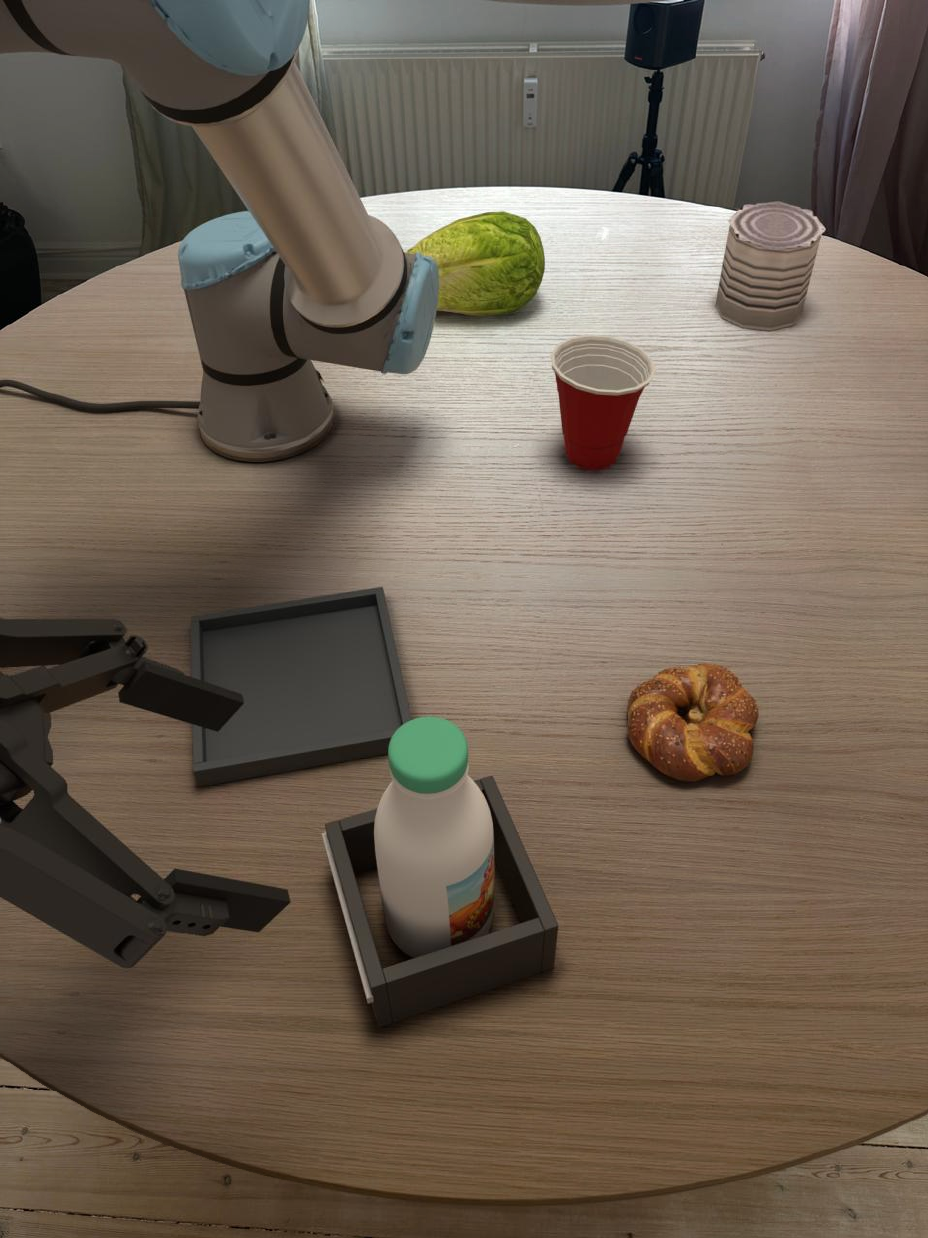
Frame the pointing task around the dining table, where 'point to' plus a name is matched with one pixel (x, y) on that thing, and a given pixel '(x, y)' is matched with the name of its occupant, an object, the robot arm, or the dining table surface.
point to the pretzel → (693, 722)
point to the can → (767, 265)
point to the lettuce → (485, 263)
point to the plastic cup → (598, 395)
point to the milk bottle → (433, 841)
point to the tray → (298, 684)
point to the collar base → (457, 965)
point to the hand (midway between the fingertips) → (250, 804)
